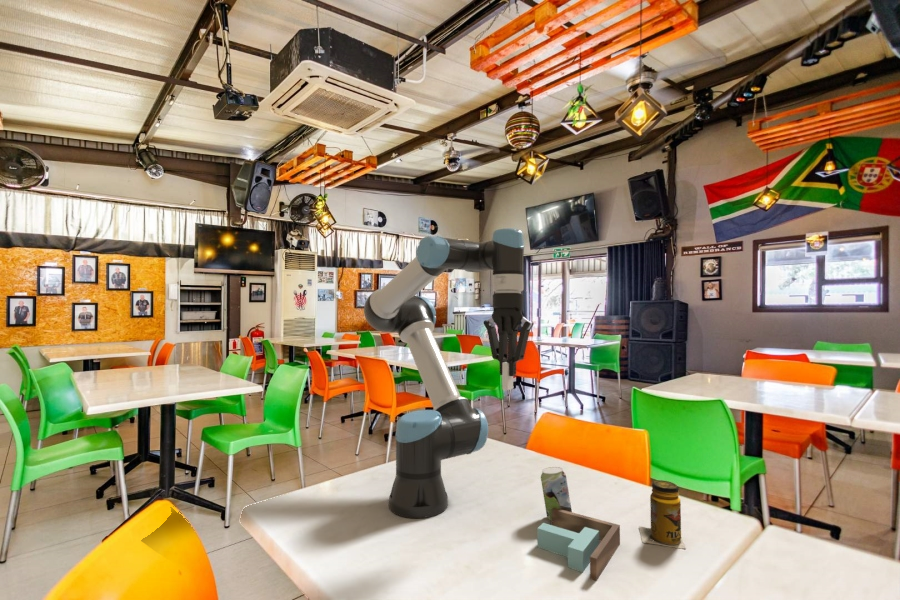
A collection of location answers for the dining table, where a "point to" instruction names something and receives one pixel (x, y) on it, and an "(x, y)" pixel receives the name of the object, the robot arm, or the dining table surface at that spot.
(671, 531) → the condiment
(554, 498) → the beverage can
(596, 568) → the corner fence
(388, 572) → the dining table surface
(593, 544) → the t block
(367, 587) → the dining table surface
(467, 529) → the dining table surface
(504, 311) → the robot arm
